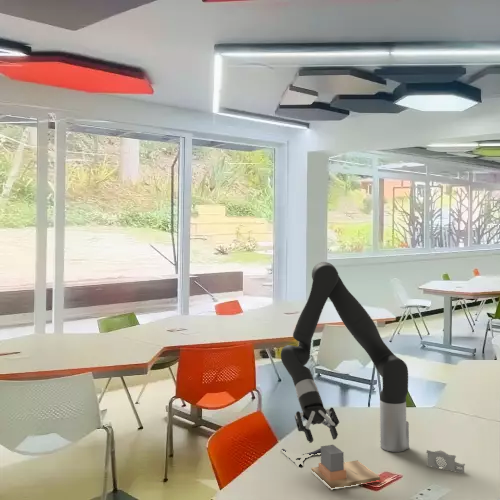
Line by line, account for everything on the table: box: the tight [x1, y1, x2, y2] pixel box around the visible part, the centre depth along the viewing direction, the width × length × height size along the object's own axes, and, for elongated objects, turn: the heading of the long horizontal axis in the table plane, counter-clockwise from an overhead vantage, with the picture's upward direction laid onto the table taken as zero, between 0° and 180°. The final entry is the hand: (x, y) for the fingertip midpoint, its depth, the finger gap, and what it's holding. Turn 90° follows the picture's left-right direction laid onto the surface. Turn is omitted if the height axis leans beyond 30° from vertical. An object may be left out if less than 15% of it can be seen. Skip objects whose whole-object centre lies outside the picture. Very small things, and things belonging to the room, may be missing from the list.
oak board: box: [310, 459, 381, 488], centre depth 177 cm, size 17×14×2 cm
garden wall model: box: [425, 449, 466, 474], centre depth 182 cm, size 12×2×6 cm, turn 57°
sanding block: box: [318, 444, 346, 481], centre depth 175 cm, size 6×8×8 cm
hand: (323, 440), depth 180 cm, fingers open, 8 cm apart
